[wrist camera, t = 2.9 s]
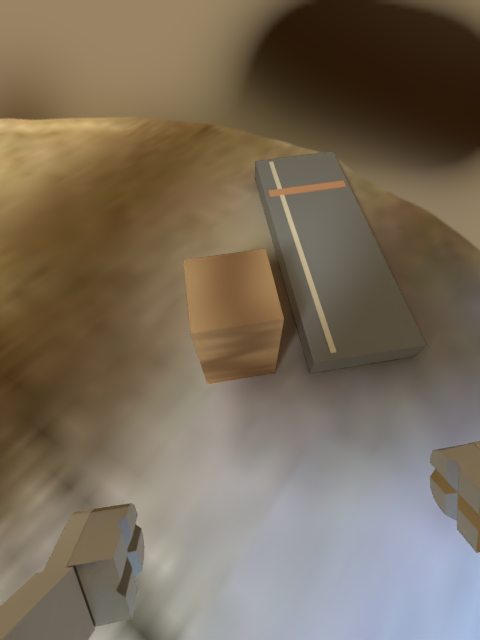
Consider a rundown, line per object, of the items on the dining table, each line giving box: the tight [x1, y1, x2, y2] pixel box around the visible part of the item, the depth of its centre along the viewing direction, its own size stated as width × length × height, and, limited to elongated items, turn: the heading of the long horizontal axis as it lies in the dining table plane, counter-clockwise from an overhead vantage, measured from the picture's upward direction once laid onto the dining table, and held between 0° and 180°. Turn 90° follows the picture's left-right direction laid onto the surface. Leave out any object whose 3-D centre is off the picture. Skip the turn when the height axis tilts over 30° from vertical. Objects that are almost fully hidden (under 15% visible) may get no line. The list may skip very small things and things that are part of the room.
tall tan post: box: [183, 248, 284, 384], centre depth 23 cm, size 5×5×8 cm
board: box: [255, 151, 426, 373], centre depth 30 cm, size 8×22×2 cm, turn 9°
